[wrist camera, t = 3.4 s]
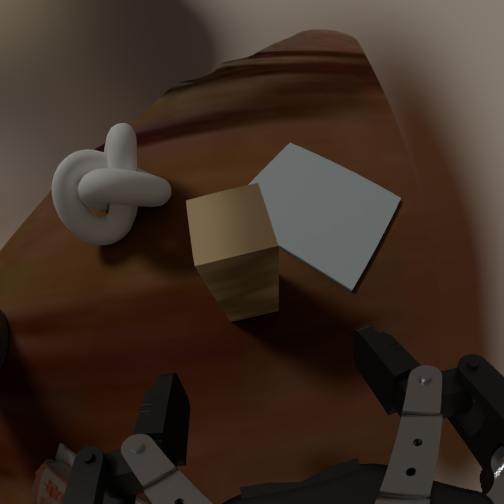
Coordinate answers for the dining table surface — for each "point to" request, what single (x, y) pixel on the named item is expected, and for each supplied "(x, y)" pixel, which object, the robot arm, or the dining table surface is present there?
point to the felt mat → (325, 213)
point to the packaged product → (55, 478)
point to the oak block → (236, 250)
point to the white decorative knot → (105, 189)
